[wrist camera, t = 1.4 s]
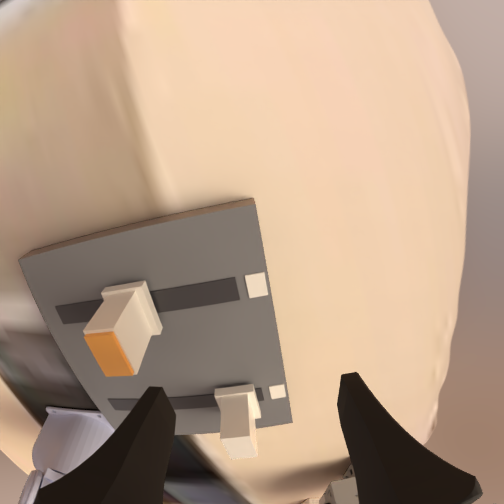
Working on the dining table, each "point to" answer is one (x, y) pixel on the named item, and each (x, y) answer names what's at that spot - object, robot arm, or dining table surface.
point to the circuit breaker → (342, 490)
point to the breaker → (238, 420)
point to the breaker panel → (172, 312)
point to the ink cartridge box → (312, 501)
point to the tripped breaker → (122, 328)
